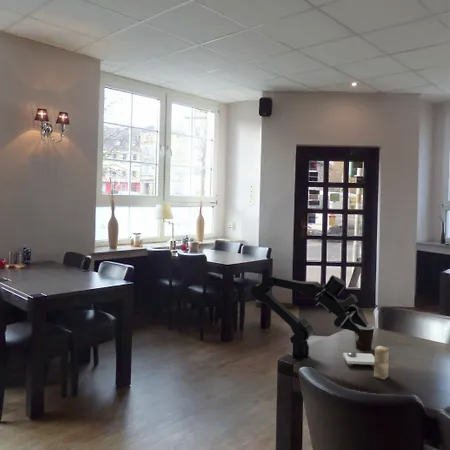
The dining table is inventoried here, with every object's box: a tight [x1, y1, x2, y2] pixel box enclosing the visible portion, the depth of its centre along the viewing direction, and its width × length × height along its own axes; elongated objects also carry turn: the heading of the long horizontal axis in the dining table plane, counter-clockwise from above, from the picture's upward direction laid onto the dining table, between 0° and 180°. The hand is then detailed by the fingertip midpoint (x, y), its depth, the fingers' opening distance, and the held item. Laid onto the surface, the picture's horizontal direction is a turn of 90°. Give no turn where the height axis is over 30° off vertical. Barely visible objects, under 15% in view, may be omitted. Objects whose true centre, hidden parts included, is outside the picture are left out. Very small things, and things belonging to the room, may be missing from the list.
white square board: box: [342, 352, 375, 369], centre depth 186 cm, size 12×10×3 cm
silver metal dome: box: [346, 351, 356, 357], centre depth 188 cm, size 4×4×1 cm
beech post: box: [373, 345, 390, 380], centre depth 173 cm, size 4×4×11 cm
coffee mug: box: [354, 324, 375, 352], centre depth 206 cm, size 12×9×10 cm
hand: (363, 329), depth 181 cm, fingers open, 9 cm apart
